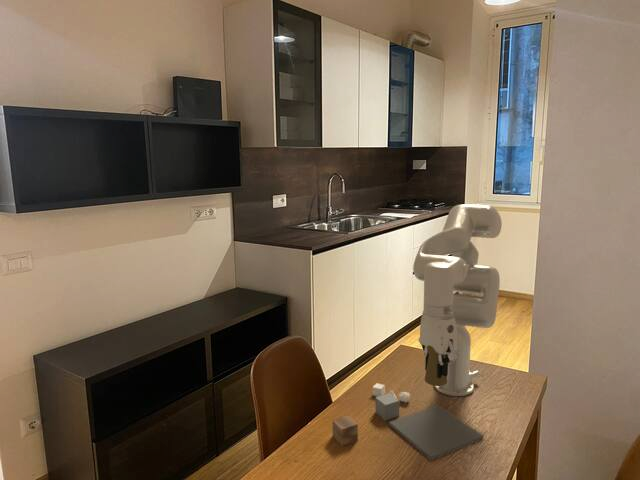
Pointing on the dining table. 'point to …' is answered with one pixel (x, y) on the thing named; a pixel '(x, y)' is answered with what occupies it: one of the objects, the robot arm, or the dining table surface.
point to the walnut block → (345, 430)
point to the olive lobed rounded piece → (434, 369)
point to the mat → (435, 432)
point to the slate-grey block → (387, 406)
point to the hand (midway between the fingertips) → (436, 372)
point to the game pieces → (380, 390)
